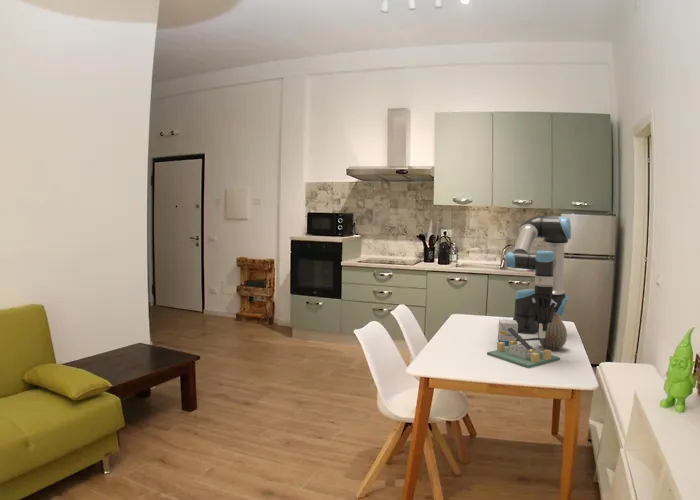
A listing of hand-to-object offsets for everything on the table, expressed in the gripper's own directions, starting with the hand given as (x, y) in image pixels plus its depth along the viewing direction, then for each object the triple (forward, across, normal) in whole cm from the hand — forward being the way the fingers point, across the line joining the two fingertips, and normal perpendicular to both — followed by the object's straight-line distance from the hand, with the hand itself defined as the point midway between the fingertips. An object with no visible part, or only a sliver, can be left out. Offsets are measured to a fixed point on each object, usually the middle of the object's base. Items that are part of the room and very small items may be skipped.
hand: (541, 337), depth 216 cm
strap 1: (+1, -6, -8) cm, 10 cm away
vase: (+10, -9, +21) cm, 25 cm away
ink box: (+9, -25, +8) cm, 28 cm away
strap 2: (+3, -7, 0) cm, 7 cm away
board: (+10, -7, -4) cm, 13 cm away
